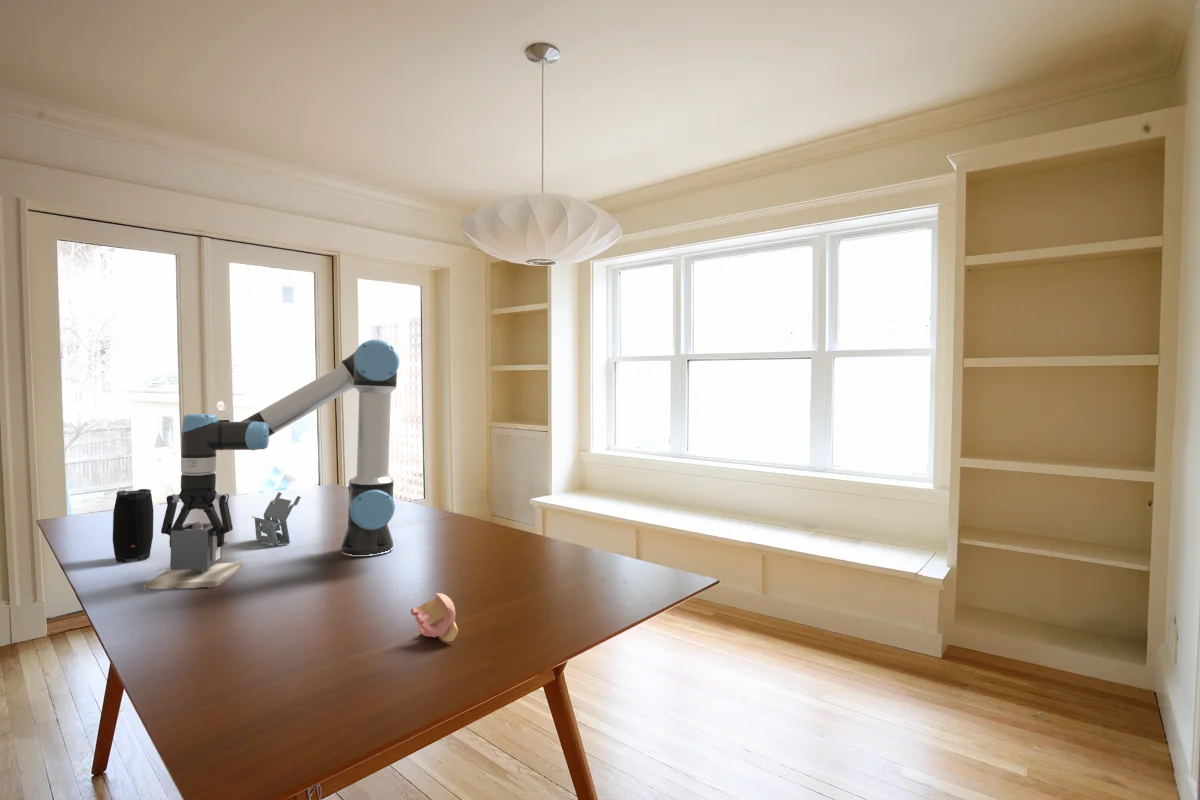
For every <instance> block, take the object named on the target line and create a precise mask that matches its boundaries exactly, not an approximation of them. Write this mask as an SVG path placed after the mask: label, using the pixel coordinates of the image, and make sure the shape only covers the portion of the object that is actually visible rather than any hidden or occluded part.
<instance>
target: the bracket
mask: <svg viewBox="0 0 1200 800" xmlns="http://www.w3.org/2000/svg"><path fill="white" fill-rule="evenodd" d="M281 497H282V492H280V491H279V492H277V494H276V496H275V498H274V499H272V500H271V501H270V502H269V504H268V506H267V508H266V509H265V511H264V513H263V518H260V517H256V516H252V518H253V519H254V526H255V527H254V529H255V539H256V540H258V541H261V542H265V544H266V543H268V544H267V545H270V543H271V544H273V545H275V546H278V547H279V546H284V545H289V544H291V541H290V534H289V527H288V522H287V520H288V517H289V515H290V514H291V512H292V510H293V508H294V507H295V506H297V505H298V504H299V502H300V500H301V499H302V496H299V495H298V496H296V497H295V500H294V501H293V503H292V500H291V499H285V498H281ZM291 503H292V504H291ZM278 531H281V532H278ZM262 534H263V535H262ZM264 534H265V535H264ZM278 541H280V542H278Z"/></svg>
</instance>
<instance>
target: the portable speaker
mask: <svg viewBox="0 0 1200 800" xmlns="http://www.w3.org/2000/svg"><path fill="white" fill-rule="evenodd" d="M153 503H154V502H153V496H152V490H151V489H149V488H141V489H140V488H139V489H138V490H118V491H117V492H116V497H115V501H114V507H113V511H112V512H113V513H112V514H113V515H112V545H113V546H112V547H113V553H114V557H115V559H114V560H115V562H116V561H117V562H116V563H126V561H127V560H135V559H137V561H139V562H140V561H143V560H148V559H149V558H150V556H151V550H152V545H153V539H154V512H155V511H154V505H153Z"/></svg>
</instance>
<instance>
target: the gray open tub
mask: <svg viewBox="0 0 1200 800" xmlns="http://www.w3.org/2000/svg"><path fill="white" fill-rule="evenodd" d="M194 523H195V522H193V523H191V522H189V523H185V524H183V525H182V526H181V527H179V528H176V529H174V530H172V531H171V548H170V559H169V560H170V565H169V567H170V568H169V569H170V570H196V569H208V568H210V567H211V566H213V565H214V564H216V563H219V562H220V561H222V558H223V557H222V555H223V554H222V553H223V546H222V547H220V558H219V559H218V560H216V561H212V559H213V536H214V535H216V532H215V530H214V528H213V526H212V524H211V522H201V523H202V524H203V529H192V525H193V524H194Z"/></svg>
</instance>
